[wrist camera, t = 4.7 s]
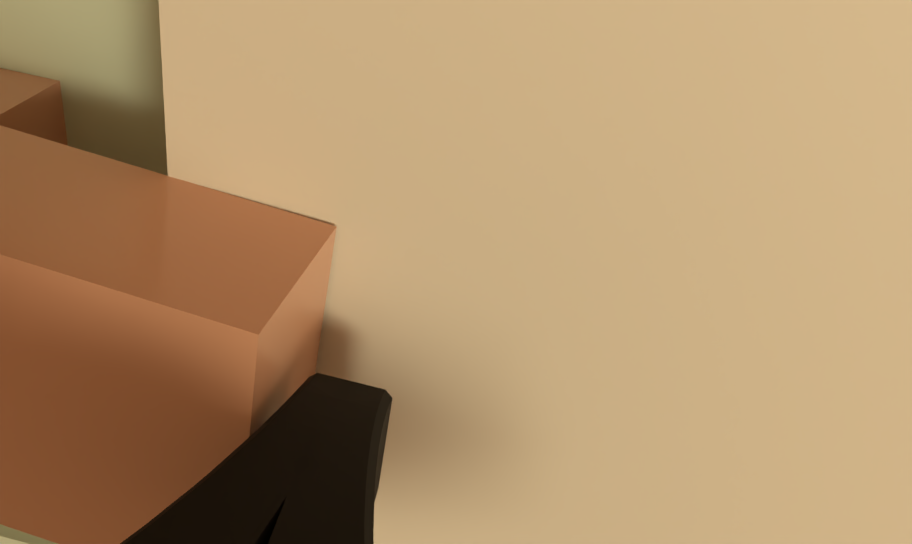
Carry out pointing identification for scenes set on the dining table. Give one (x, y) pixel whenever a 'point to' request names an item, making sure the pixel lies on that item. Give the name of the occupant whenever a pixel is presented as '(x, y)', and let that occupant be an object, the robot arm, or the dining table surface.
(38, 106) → the tile
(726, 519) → the board
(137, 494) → the tile
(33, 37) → the box
